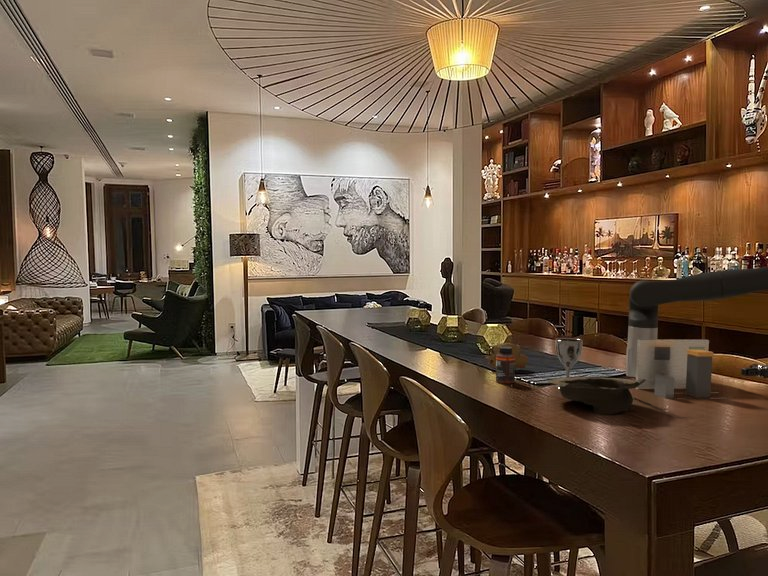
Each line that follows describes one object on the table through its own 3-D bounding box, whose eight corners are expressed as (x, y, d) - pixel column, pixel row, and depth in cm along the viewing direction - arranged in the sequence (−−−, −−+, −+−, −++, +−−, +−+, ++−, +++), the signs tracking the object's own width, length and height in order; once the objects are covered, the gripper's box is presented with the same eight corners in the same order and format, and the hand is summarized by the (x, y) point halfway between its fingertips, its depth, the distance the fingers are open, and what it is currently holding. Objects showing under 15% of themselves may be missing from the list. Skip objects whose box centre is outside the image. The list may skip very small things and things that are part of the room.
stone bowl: (637, 423, 141) (636, 385, 140) (536, 414, 154) (534, 379, 154) (652, 401, 162) (650, 368, 161) (561, 395, 175) (560, 365, 175)
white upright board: (703, 391, 180) (706, 339, 179) (741, 403, 165) (744, 347, 164) (635, 391, 176) (637, 339, 175) (667, 404, 161) (670, 347, 160)
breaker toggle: (699, 393, 171) (701, 349, 170) (711, 397, 166) (713, 352, 165) (684, 393, 170) (686, 349, 169) (695, 397, 165) (698, 352, 165)
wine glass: (580, 386, 182) (582, 338, 182) (580, 391, 175) (582, 342, 174) (554, 384, 185) (556, 337, 184) (553, 389, 178) (554, 340, 177)
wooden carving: (522, 368, 211) (523, 341, 211) (529, 370, 207) (530, 342, 206) (481, 370, 206) (482, 342, 206) (488, 372, 202) (489, 344, 201)
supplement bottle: (516, 381, 187) (517, 346, 187) (512, 385, 182) (513, 349, 181) (497, 379, 190) (499, 345, 189) (493, 383, 184) (494, 347, 184)
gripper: (777, 355, 179) (727, 355, 176) (815, 363, 166) (762, 363, 163) (776, 379, 179) (725, 379, 177) (814, 389, 166) (760, 389, 164)
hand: (743, 371), depth 170 cm, fingers closed
